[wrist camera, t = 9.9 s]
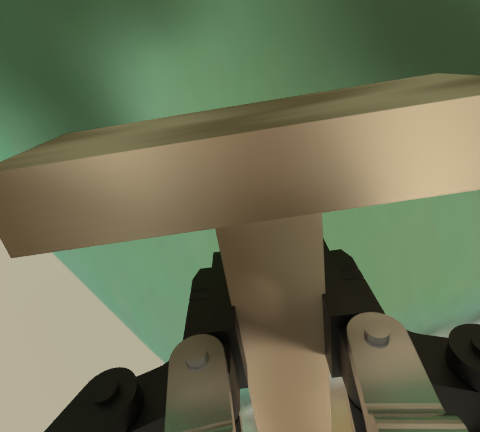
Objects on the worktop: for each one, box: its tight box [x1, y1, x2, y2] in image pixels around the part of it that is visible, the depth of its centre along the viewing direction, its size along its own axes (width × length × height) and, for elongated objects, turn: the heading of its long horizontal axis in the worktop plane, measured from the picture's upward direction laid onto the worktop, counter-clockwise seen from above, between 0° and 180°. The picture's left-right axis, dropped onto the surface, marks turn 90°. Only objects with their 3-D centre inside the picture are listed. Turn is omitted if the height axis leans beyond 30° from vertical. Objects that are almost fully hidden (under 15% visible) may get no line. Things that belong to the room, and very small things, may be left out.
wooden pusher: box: [0, 73, 480, 432], centre depth 11 cm, size 12×12×4 cm
